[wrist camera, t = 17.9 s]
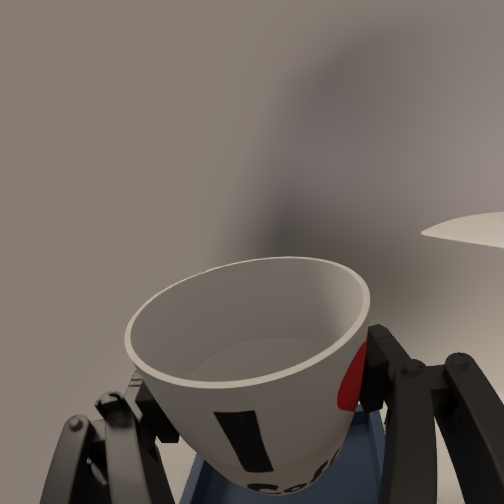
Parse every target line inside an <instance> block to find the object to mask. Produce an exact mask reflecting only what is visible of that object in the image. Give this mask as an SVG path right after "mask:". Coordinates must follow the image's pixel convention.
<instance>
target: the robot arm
mask: <svg viewBox="0 0 504 504" xmlns="http://www.w3.org/2000/svg"><path fill="white" fill-rule="evenodd" d="M384 401H385V403H386V405H387V407H388V409H387V414H386V418H385V423H384V424H386V434H385V449H384V460H383V469H382V478H381V485H380V492H379V499H378V504H437V448H436V433H435V422H434V416H435V419H436V421H437V424H438V426H439V429H440V431H441V434H442V436H443V439H444V442H445V444H446V447H447V449H448V452H449V455H450V458H451V461H452V463H453V466H454V469H455V472H456V475H457V478H458V481H459V485H460V488H461V491H462V495H463V498H464V501H465V504H504V405H503V403H502V401H501V400H500V398H499V396H498V395H497V393H496V392H495V390H494V389H493V387H492V386H491V384H490V382H489V381H488V380H487V378H486V377H485V375H484V374H483V372H482V371H481V369H480V368H479V366H478V365H477V363H476V362H475V361H474V359H473V358H472V357H471V356H470V355H468V354H465V353H453V354H451V355H449V356H448V357H447V359H446V361H445V364H443V365H436V366H426V365H425V364H424V363H423V362H421V361H419V360H416V359H411V358H410V357H409V355H408V354H407V353H406V352H405V350H404V349H403V348H402V346H401V345H400V344H399V343H398V341H396V339H395V338H394V336H392V334H391V333H390V331H389V330H388V329H387V328H385V327H383V326H382V325H380V324H377V325H373V326H370V327H368V335H367V345H366V354H365V362H364V370H363V377H362V384H361V390H360V396H359V402H360V404H361V406H362V408H363V410H364V413H365V414H368V413H371V412H374V411H377V410H380V409H382V407H383V402H384ZM95 407H96V409H97V410H98V411H99V413H100V414H101V416H102V417H103V418H104V419H101V420H96V421H90V420H89V419H88V418H87V417H86V416H85V415H82V414H78V415H74V416H72V417H70V418H69V419H68V420H67V421H66V423H65V424H64V427H63V430H62V433H61V435H60V438H59V441H58V444H57V447H56V450H55V452H54V456H53V459H52V462H51V465H50V468H49V471H48V475H47V478H46V481H45V485H44V489H43V492H42V496H41V500H40V504H175V502H174V499H173V496H172V493H171V490H170V487H169V484H168V481H167V477H166V474H165V471H164V467H163V464H162V460H161V457H160V453H159V449H158V447H157V445H156V444H155V439H156V435H157V437H158V438H159V440H160V441H161V443H178V441H179V436H180V434H179V433H178V431H177V430H176V429H175V427H174V426H173V424H172V423H171V422H170V420H169V419H168V417H167V416H166V415H165V413H164V412H163V410H162V409H161V407H160V406H159V404H158V403H157V401H156V400H155V398H154V396H153V395H152V393H151V392H150V390H149V389H148V387H147V385H146V384H145V382H144V380H143V379H142V377H141V376H140V374H139V372H138V370H136V371H135V372H134V374H133V376H132V378H131V381H130V382H129V385H128V387H127V389H126V392H125V394H124V396H123V395H122V394H121V393H120V392H117V391H110V392H107V393H105V394H103V395H101V396H100V397H99V398H98V399H97V400H96V402H95ZM87 459H88V462H87Z"/></svg>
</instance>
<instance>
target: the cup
mask: <svg viewBox="0 0 504 504" xmlns="http://www.w3.org/2000/svg"><path fill="white" fill-rule="evenodd" d="M369 310H370V294H369V290H368V287H367V285H366V283H365V282H364V280H363V279H362V278H361V277H360V276H359V275H358V274H357V273H355V272H354V271H352V270H351V269H349V268H347V267H345V266H343V265H340V264H338V263H334V262H331V261H327V260H322V259H316V258H308V257H272V258H262V259H254V260H248V261H242V262H238V263H232V264H228V265H224V266H221V267H217V268H213V269H210V270H207V271H204V272H201V273H199V274H196V275H193V276H191V277H188V278H186V279H183V280H181V281H179V282H177V283H175V284H173V285H172V286H169V287H168V288H166V289H164V290H163V291H161V292H159V293H158V294H156V295H155V296H153V297H152V298H151V299H149V300H148V301H147V302H146V303H145V304H144V305H142V306H141V307H140V309H139V310H138V311H137V312H136V313H135V314H134V316H133V317H132V319H131V320H130V322H129V324H128V326H127V329H126V332H125V347H126V350H127V352H128V355H129V356H130V358H131V360H132V362H133V364H134V365H135V367H136V368H137V370H138V372H139V374H140V376H141V377H142V379H143V380H144V382H145V384H146V385H147V387H148V389H149V390H150V392H151V393H152V395H153V396H154V398H155V400H156V401H157V403H158V404H159V406H160V407H161V409H162V410H163V412H164V413H165V415H166V416H167V417H168V419H169V420H170V422H171V423H172V424H173V426H174V427H175V429H176V430H177V431H178V433H179V434H180V435H181V437H182V438H183V439H184V441H185V442H186V443H187V444H188V445H189V446H190V447H191V448H192V449H194V450H195V451H196V452H197V453H198V454H199V455H200V456H201V457H202V458H203V459H204V460H206V461H207V462H208V463H209V464H210V465H211V466H212V467H214V468H215V469H216V470H217V471H218V472H219V473H221V474H222V475H223V476H224V477H226V478H227V479H228V480H230V481H232V482H234V483H235V484H238V485H240V486H242V487H245V488H248V489H250V490H253V491H255V492H258V493H261V494H265V495H273V496H280V495H288V494H293V493H296V492H299V491H301V490H303V489H305V488H307V487H308V486H310V485H311V484H313V483H314V482H315V481H316V480H317V479H318V478H319V477H320V476H321V475H322V474H323V473H324V472H325V470H326V469H327V468H328V467H329V466H330V465H331V464H332V462H333V461H334V460H335V458H336V457H337V455H338V453H339V451H340V449H341V447H342V444H343V442H344V439H345V437H346V434H347V432H348V429H349V427H350V424H351V421H352V419H353V416H354V413H355V410H356V408H357V404H358V401H359V396H360V390H361V384H362V377H363V370H364V362H365V354H366V345H367V335H368V323H369Z"/></svg>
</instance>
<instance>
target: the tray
mask: <svg viewBox="0 0 504 504" xmlns="http://www.w3.org/2000/svg"><path fill="white" fill-rule="evenodd" d="M384 449H385V433H384V429H383V424H382V420H381V416H380V412H379V410H377V411H374V412H371V413H368V414H365V413H364V410H363V408H362V406H361V404H358V405H357V408H356V410H355V413H354V416H353V419H352V421H351V424H350V427H349V429H348V432H347V434H346V437H345V439H344V442H343V444H342V447H341V449H340V451H339V453H338V455H337V457H336V458H335V460H334V461H333V462H332V464H331V465H330V466H329V467H328V468H327V469H326V470H325V472H324V473H323V474H322V475H321V476H320V477H319V478H318V479H317V480H316V481H315V482H314V483H313V484H311V485H310V486H308V487H307V488H305V489H303V490H301V491H299V492H296V493H293V494H288V495H280V496H273V495H265V494H261V493H258V492H255V491H253V490H250V489H248V488H245V487H242V486H240V485H238V484H235V483H234V482H232V481H230V480H228V479H227V478H226V477H224V476H223V475H222V474H221V473H219V472H218V471H217V470H216V469H215V468H214V467H212V466H211V465H210V464H209V463H208V462H207V461H206V460H204V459H203V458H202V457H201V456H200V455H199V454H198V453H197V454H196V457H195V460H194V463H193V466H192V469H191V472H190V475H189V477H188V480H187V483H186V486H185V489H184V492H183V495H182V498H181V500H180V503H179V504H378V499H379V492H380V485H381V478H382V469H383V460H384Z"/></svg>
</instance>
